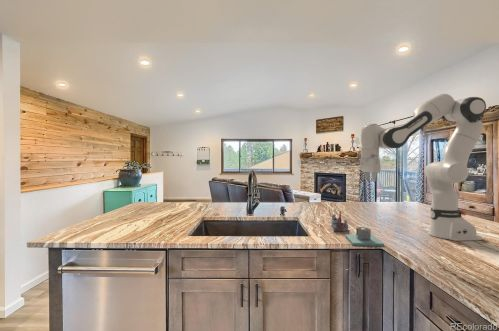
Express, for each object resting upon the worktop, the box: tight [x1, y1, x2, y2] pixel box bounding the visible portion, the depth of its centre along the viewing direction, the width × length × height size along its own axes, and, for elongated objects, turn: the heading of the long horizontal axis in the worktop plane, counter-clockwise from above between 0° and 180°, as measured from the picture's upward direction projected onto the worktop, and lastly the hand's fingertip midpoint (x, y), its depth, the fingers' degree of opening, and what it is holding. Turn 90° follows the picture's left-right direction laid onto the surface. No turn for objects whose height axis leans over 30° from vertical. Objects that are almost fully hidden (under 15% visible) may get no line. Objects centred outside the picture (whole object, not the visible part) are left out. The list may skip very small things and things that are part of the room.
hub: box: [355, 226, 372, 241], centre depth 128 cm, size 6×6×5 cm
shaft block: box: [344, 227, 385, 247], centre depth 128 cm, size 14×14×6 cm
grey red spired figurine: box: [330, 210, 349, 232], centre depth 150 cm, size 11×11×12 cm
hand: (370, 180), depth 138 cm, fingers open, 8 cm apart
